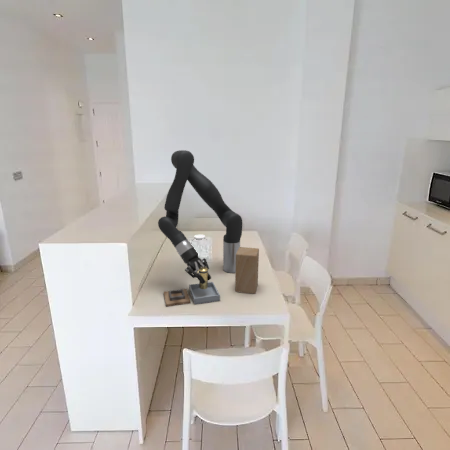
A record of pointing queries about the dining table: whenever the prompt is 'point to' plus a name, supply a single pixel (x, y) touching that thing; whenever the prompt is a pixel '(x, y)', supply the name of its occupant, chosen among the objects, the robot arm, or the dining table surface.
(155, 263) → the dining table surface
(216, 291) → the tray
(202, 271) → the pin
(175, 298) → the pin dock
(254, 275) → the wooden block
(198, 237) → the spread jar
